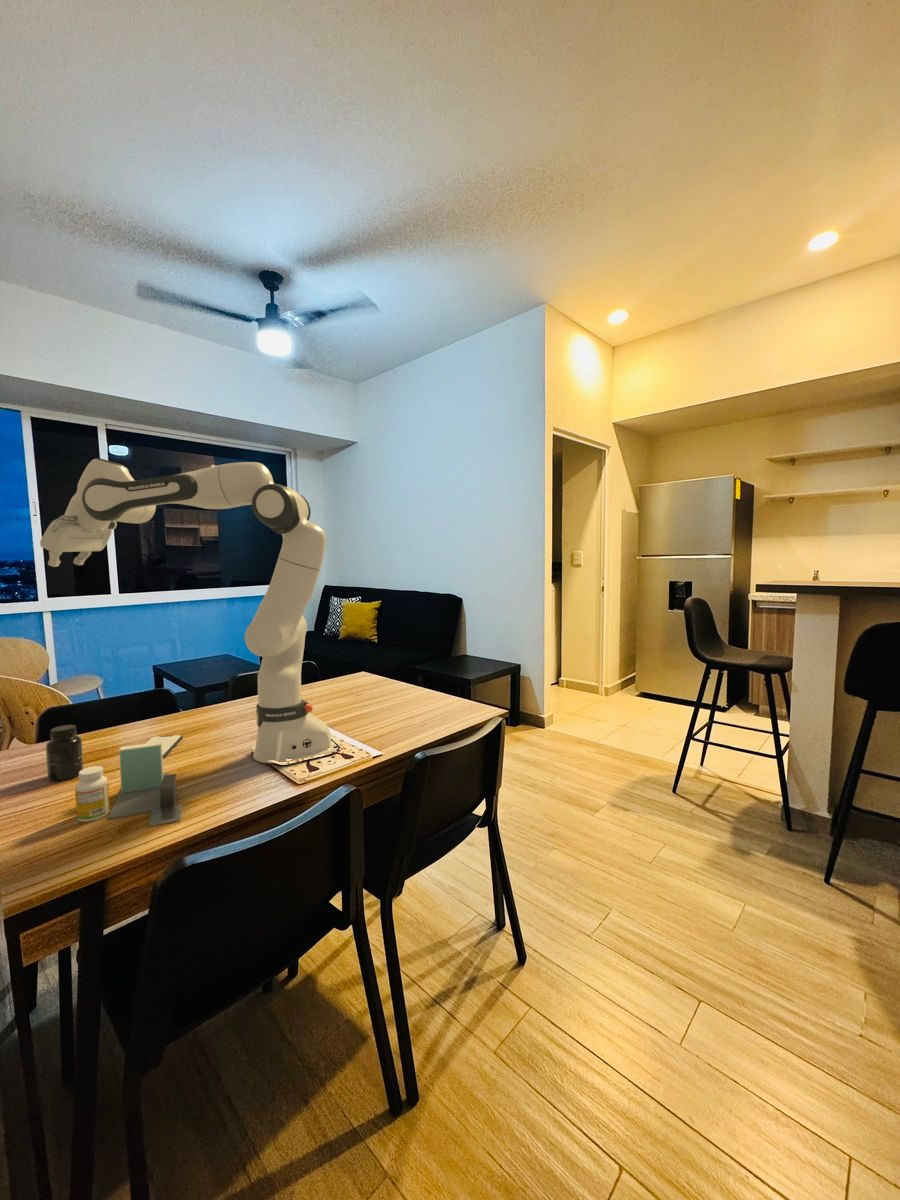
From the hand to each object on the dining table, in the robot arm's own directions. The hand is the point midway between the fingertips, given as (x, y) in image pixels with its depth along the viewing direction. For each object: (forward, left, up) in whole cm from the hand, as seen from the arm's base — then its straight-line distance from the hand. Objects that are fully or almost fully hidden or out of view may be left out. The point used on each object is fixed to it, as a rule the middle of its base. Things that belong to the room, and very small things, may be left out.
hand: (65, 565), depth 126 cm
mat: (-19, +33, -51) cm, 64 cm away
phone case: (-19, +5, -52) cm, 55 cm away
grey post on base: (-25, +43, -51) cm, 71 cm away
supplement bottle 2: (-12, +40, -51) cm, 66 cm away
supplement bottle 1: (-1, +15, -51) cm, 53 cm away
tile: (-19, +31, -51) cm, 62 cm away
